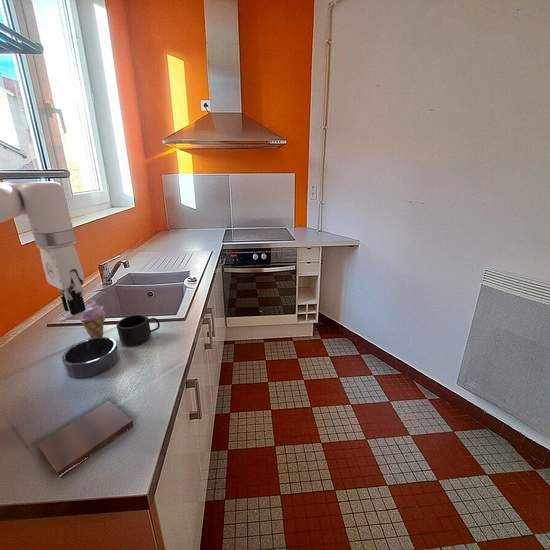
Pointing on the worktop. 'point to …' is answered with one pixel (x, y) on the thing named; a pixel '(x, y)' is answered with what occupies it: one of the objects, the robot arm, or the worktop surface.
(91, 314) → the ice cream cone
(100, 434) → the cutting board
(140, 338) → the mug
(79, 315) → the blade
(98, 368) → the round grey bowl
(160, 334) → the worktop surface
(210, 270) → the worktop surface
